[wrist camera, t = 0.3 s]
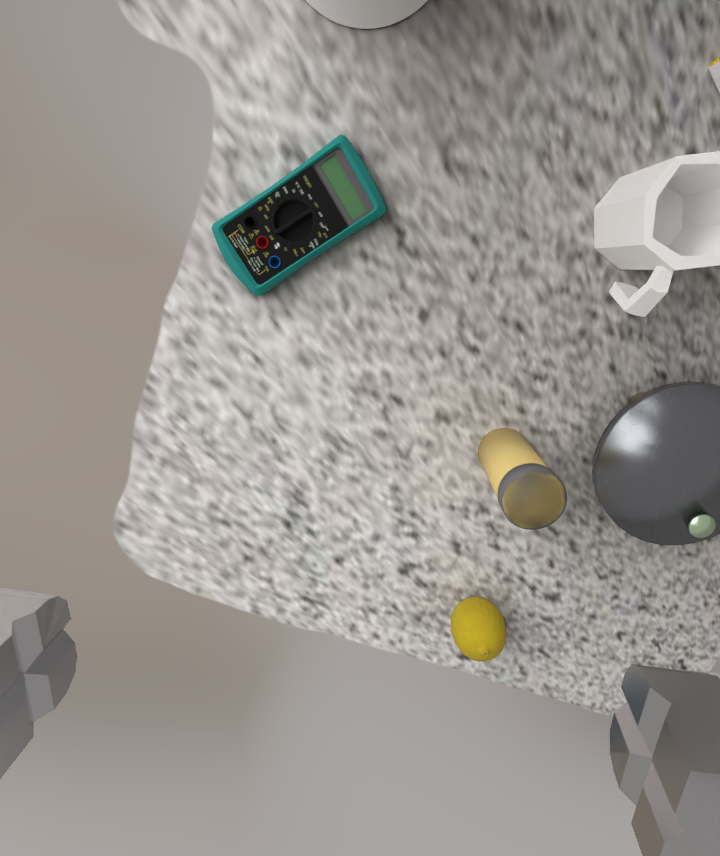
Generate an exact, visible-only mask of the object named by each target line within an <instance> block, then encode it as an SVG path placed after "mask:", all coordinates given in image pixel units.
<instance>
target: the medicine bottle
mask: <svg viewBox="0 0 720 856" xmlns="http://www.w3.org/2000/svg"><path fill="white" fill-rule="evenodd" d="M709 72H710V74H711V76H712V78H713V80H714V83H715V85H716V87H717V89H718V92H719V94H720V57H719V58H718V59H716V60H715V61H713V62H712V63H711V64H710V65H709Z"/></svg>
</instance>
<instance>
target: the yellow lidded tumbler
mask: <svg viewBox="0 0 720 856" xmlns="http://www.w3.org/2000/svg"><path fill="white" fill-rule="evenodd" d="M478 458H479V461H480V463H481V465H482V467H483V469H484V471H485V473H486V475H487V477H488V479H489V481H490V483H491V485H492V487H493V489H494V491H495V493H496V495H497V497H498V501H499V504H500V506H501V508H502V510H503V512H504V514H505V516H506V517H507V519H508V520H509V521H510V522H511V523H513V524H514V525H516V526H518V527H520V528H523V529H530V530H533V529H541V528H544V527H547V526H549V525H550V524H552V523H554V522H555V521H556V520H557V519H558V518H559V517H560V516H561V514H562V513H563V511H564V509H565V507H566V503H567V493H566V489H565V486H564V485H563V483H562V482H561V480H560V479H559V478H558V477H557V476H556V474H555V473H554V472H553V471H552V470H551V469H549V468H548V467H547V465H546V464H545V463H544V462H543V460H542V459H541V458H540V457H539V456H538V454H537V453H536V452H535V451H534V449H533V448H532V447H531V446H530V445H529V443H528V442H527V441H526V440H525V439H524V437H523V436H522V435H521V434H520V433H519V432H517V431H515V430H513V429H509V428H500V429H496V430H493V431H491V432H490V433H488V434H487V435H486V436H485V437H484V438H483V439H482V441H481V442H480V445H479V448H478Z"/></svg>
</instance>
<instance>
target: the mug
mask: <svg viewBox="0 0 720 856" xmlns="http://www.w3.org/2000/svg"><path fill="white" fill-rule="evenodd" d="M594 249H596V250H597V251H598V252H599V253H600V254H602V255H603V256H604V257H605V258H607V259H608V260H609V261H610V262H612V263H613V264H614V265H615V266H616V267H618V268H619V269H624V270H654V271H653V273H652V274H651V276H650V278H649V280H648V282H647V283H646V284H644V285H643V286H642V287H641V288H640V289H639V290H638V288H637V287H634V286H631V285H629V284H626V283H620V282H614V284H613V286H612V288H611V289H610V291H609V293H610V294H611V295H612V297H613V298H614V299H615V300H616V302H617V303H618V304H619V305H620V306H621V308H622V309H623V310H624V311H625V312H627V313H630V314H632V315H636V316H642V317H645V316H646V315H647V314H648V313H649V312H650V311H651V310H652V309H653V308H654V306H655V305H656V304H657V303H658V302H659V301H660V300H661V299H662V298H663V297H664V296H665V295H666V293H667V292H668V289H669V286H670V282H671V279H672V275H673V272H674V270H683V269H692V268H700V267H709V266H718V265H720V151H716V152H708V153H700V154H691V155H683V156H676V157H674V158H671V159H668V160H666V161H663V162H660V163H657V164H655V165H652V166H649V167H647V168H644V169H641V170H638V171H636V172H633V173H630V174H628V175H625V176H622V177H619V178H618V180H617V181H616V182H615V183H614V185H613V186H612V187H611V188H610V189H609V191H608V192H607V193H606V194H605V196H604V197H603V198H602V199H601V201H600V202H599V203H598V204H597V205H596V207H595V208H594Z"/></svg>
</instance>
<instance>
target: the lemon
mask: <svg viewBox="0 0 720 856" xmlns="http://www.w3.org/2000/svg"><path fill="white" fill-rule="evenodd" d="M451 631H452V635H453V638H454V641H455V643H456V645H457V646H458V648H459V649H460V650H461V652H462V653H463V654H465V655H466V656H467V657H469V658H471V659H473V660H476V661H488V660H491V659H493V658H495V657H496V656H497V655H498V654H499V653H500V652H501V651H502V649H503V647H504V644H505V639H506V628H505V622H504V619H503V617H502V615H501V613H500V611H499V610H498V609H497V607H496V606H495V605H494V604H493V603H491V602H490V601H488V600H487V599H484V598H481V597H470V598H467V599H464V600H463V601H461V602H460V603H459V604H458V605H457V606H456V608H455V609H454V611H453V614H452V618H451Z"/></svg>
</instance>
